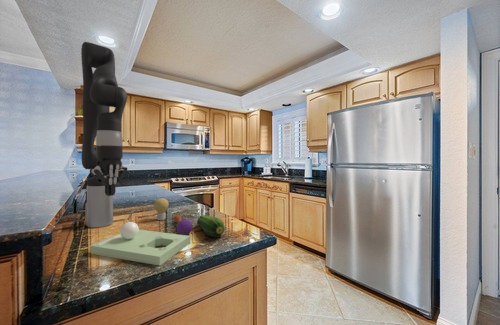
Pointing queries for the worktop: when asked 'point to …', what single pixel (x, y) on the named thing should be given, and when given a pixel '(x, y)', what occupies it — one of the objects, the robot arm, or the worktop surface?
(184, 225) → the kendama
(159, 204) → the light bulb
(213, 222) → the vegetable
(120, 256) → the putting board
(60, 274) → the worktop surface
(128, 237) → the ball
